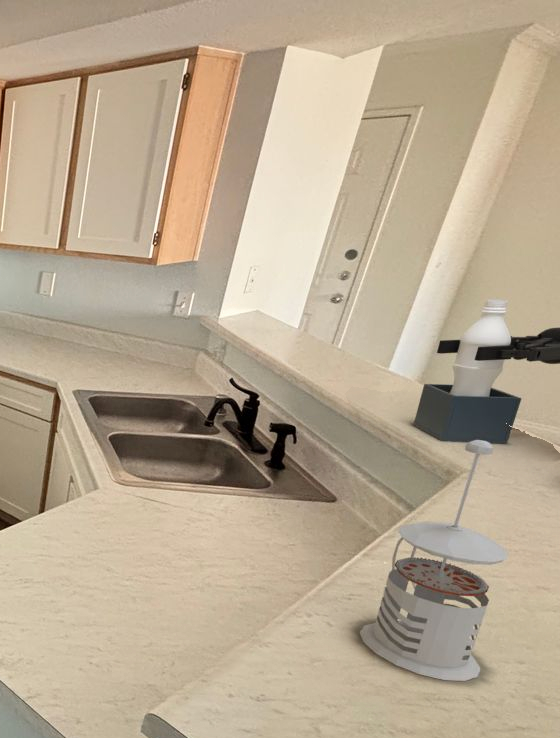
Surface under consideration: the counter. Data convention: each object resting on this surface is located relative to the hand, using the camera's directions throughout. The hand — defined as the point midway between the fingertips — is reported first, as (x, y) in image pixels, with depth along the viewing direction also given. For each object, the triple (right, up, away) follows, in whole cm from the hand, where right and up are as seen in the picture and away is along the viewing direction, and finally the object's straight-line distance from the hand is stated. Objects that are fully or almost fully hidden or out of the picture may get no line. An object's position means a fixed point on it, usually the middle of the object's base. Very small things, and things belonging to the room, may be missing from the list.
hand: (458, 350), depth 121 cm
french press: (-64, -41, -55) cm, 94 cm away
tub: (+6, -18, +6) cm, 19 cm away
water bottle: (+6, -14, +5) cm, 16 cm away
